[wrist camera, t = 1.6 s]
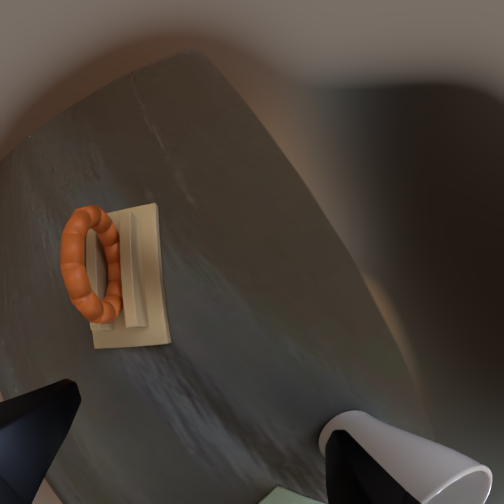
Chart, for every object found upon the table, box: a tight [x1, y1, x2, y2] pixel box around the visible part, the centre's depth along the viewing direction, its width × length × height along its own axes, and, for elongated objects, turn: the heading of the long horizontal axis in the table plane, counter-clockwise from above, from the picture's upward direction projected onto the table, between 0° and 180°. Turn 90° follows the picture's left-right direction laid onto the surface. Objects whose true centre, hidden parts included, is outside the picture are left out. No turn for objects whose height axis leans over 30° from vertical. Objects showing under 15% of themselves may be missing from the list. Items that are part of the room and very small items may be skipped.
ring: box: [60, 205, 123, 324], centre depth 17 cm, size 8×2×8 cm, turn 9°
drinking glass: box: [319, 410, 492, 504], centre depth 12 cm, size 7×7×15 cm
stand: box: [86, 203, 171, 349], centre depth 21 cm, size 12×7×4 cm, turn 9°
